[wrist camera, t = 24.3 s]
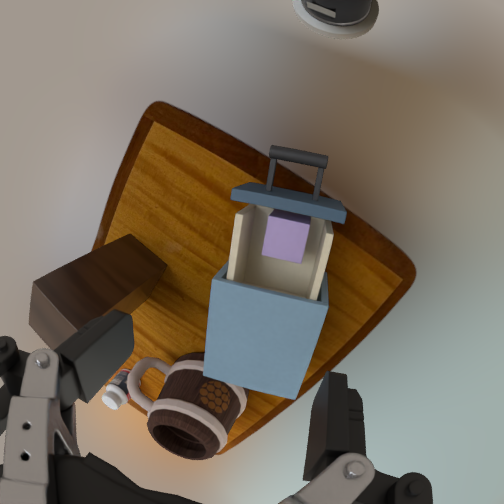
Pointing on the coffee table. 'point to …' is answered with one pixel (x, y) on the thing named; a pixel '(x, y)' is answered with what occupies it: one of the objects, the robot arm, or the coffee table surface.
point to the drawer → (255, 222)
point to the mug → (188, 406)
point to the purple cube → (286, 236)
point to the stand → (93, 288)
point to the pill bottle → (117, 390)
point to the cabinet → (261, 335)
